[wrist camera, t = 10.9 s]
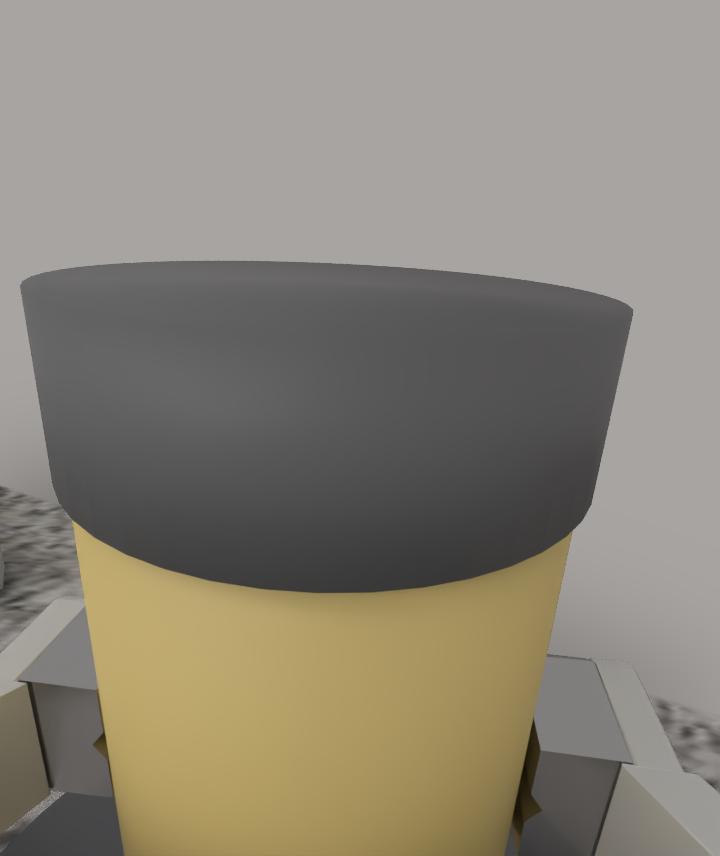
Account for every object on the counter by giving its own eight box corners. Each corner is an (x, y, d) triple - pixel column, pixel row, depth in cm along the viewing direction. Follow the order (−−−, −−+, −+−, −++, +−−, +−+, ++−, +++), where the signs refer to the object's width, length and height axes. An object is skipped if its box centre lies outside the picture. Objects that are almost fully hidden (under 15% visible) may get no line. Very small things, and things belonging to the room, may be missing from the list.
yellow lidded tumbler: (81, 1222, 7) (-197, 297, 3) (220, 823, 12) (186, 255, 8) (479, 1314, 7) (795, 368, 3) (458, 860, 12) (555, 276, 7)
